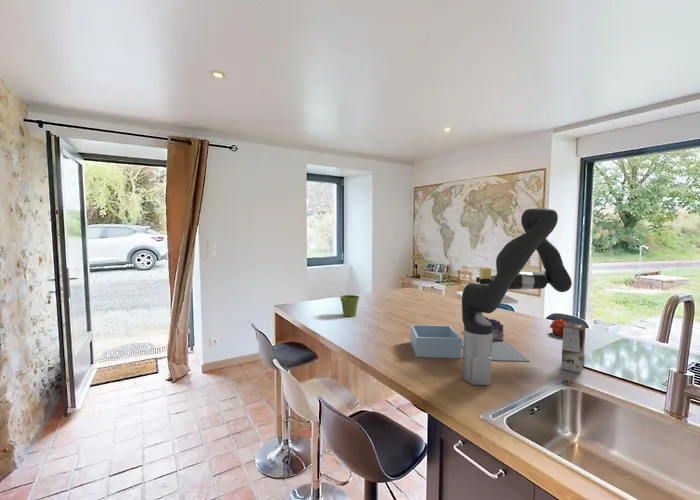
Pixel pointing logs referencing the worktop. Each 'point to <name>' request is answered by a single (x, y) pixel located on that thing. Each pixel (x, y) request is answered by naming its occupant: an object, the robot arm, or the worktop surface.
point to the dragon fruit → (558, 326)
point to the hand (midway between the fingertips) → (478, 280)
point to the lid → (486, 274)
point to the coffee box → (573, 347)
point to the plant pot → (349, 304)
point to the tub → (435, 341)
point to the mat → (505, 352)
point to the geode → (497, 330)
